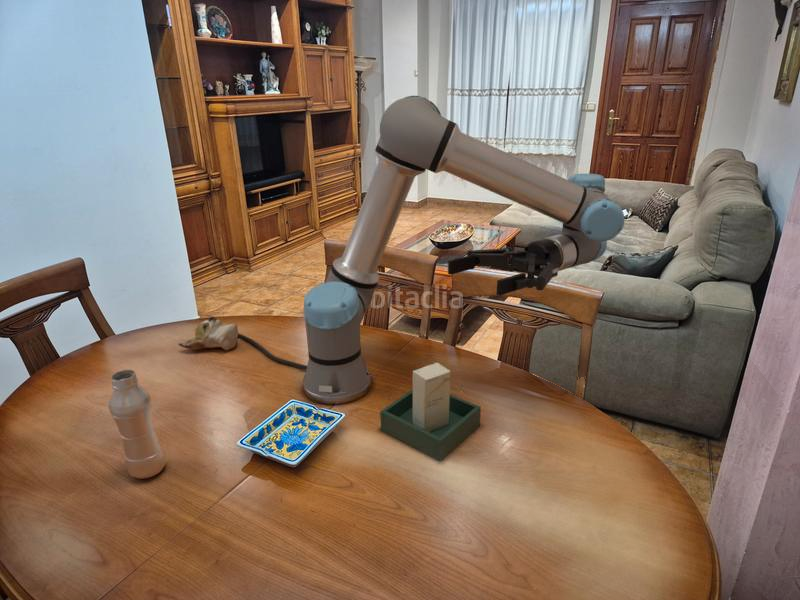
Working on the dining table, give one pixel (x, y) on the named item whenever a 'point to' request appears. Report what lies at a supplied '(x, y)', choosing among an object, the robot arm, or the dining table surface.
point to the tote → (437, 441)
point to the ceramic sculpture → (213, 335)
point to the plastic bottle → (136, 426)
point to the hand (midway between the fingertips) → (472, 277)
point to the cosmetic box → (431, 397)
